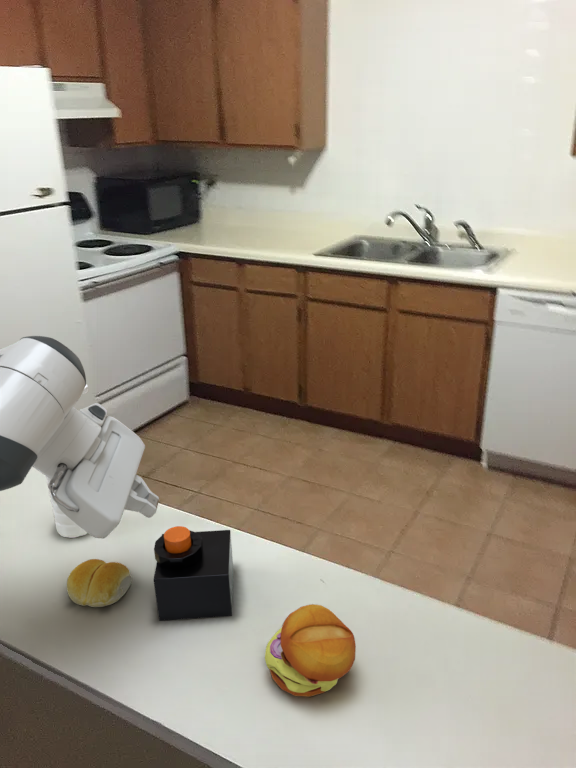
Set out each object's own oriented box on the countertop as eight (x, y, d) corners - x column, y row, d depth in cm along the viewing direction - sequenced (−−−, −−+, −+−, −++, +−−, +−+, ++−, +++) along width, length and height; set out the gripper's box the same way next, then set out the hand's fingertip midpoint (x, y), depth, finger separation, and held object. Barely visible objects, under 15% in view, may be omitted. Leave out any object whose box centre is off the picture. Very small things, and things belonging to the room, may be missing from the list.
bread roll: (87, 567, 103) (83, 545, 101) (139, 577, 100) (136, 555, 98) (55, 603, 95) (50, 581, 94) (110, 615, 93) (106, 592, 91)
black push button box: (157, 621, 92) (149, 568, 88) (165, 573, 101) (158, 523, 97) (232, 616, 92) (227, 563, 88) (233, 568, 101) (229, 519, 97)
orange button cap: (163, 555, 91) (162, 542, 90) (166, 538, 94) (165, 526, 93) (190, 553, 91) (188, 541, 90) (192, 537, 94) (191, 525, 94)
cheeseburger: (297, 624, 90) (310, 573, 85) (361, 676, 85) (380, 625, 80) (246, 670, 83) (258, 618, 78) (313, 730, 78) (330, 679, 73)
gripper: (60, 473, 74) (158, 542, 78) (101, 397, 93) (179, 455, 97) (27, 509, 76) (125, 574, 80) (74, 427, 95) (151, 483, 99)
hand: (155, 508), depth 88 cm, fingers closed
